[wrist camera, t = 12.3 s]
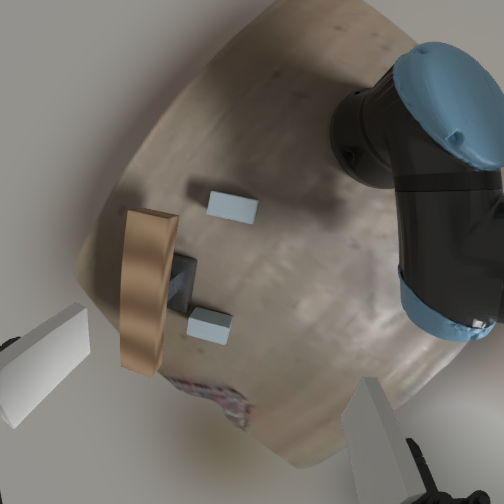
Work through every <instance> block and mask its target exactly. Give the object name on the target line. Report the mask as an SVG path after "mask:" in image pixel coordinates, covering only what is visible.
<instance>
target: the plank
mask: <svg viewBox="0 0 504 504" xmlns="http://www.w3.org/2000/svg"><path fill="white" fill-rule="evenodd" d="M178 221H179V215H174V214H169V213H165V212H160V211H155V210H150V209H146V208H140V209H134V210H128V213H127V221H126V229H125V237H124V247H123V258H122V272H121V291H120V353H121V366H122V367H124V368H126V369H129V370H131V371H134V372H136V373H139V374H142V375H144V376H147V377H150V378H153V376H154V375H155V373H156V372H157V370H158V368H159V367H160V365H161V364H162V353H163V340H164V328H165V317H166V307H167V298H168V289H169V281H170V273H171V266H172V259H173V252H174V245H175V239H176V233H177V227H178Z"/></svg>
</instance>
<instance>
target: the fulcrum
mask: <svg viewBox="0 0 504 504" xmlns="http://www.w3.org/2000/svg"><path fill="white" fill-rule="evenodd" d="M196 265H197V260H194V259H190V258H186V257H182V256H179V255H175V254H173V259H172V266H171V273H170V281H169V289H168V298H167V308H171V309H174V310H177V311H181V312H184V313H186V312H187V311H188V310H189V308H190V303H191V296H192V290H193V284H194V277H195V271H196Z"/></svg>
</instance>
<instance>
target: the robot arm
mask: <svg viewBox="0 0 504 504" xmlns="http://www.w3.org/2000/svg"><path fill="white" fill-rule="evenodd" d="M330 140H331V145H332V148H333V151H334V154H335V156H336V158H337V160H338V161H339V163H340V164H341V166H342V167H343V168H344V170H345V171H346V172H347V173H348V174H349V175H350V176H351V177H353V178H354V179H355V180H357V181H358V182H360V183H362V184H364V185H366V186H369V187H372V188H378V189H392V188H395V197H396V208H397V220H398V237H399V265H398V275H399V278H400V289H401V303H402V306H403V309H404V310H405V311H406V313H407V315H408V317H409V318H410V320H411V321H412V322H413V323H414V324H416V325H417V326H418V327H419V328H421V329H422V330H424V331H425V332H427V333H429V334H431V335H433V336H436V337H438V338H441V339H444V340H449V341H455V342H467V341H469V339H470V338H471V339H473V340H478V339H481V338H482V337H484V336H486V335H487V334H488V333H489V332H490V331H491V329H492V327H494V325H495V323H496V322H498V323H504V193H503V187H502V177H501V169H500V168H501V167H503V166H504V94H503V92H502V91H501V89H500V87H499V86H498V84H497V83H496V81H495V80H494V79H493V78H492V76H491V75H490V74H489V72H487V71H486V70H485V69H484V68H483V67H482V66H481V65H480V64H479V62H478V61H476V60H475V59H474V58H473V57H471V56H470V55H469V54H467V53H466V52H464V51H462V50H460V49H459V48H456V47H454V46H452V45H449V44H446V43H441V42H426V43H423V44H420V45H418V46H416V47H415V48H413V49H412V50H411V51H409V52H408V53H407V54H404V55H402V56H401V57H399V58H398V60H397V61H396V62H395V64H394V65H393V66H392V67H391V68H390V69H389V70H388V71H387V72H386V73H385V75H384V76H383V77H382V78H381V79H380V80H379V81H378V82H377V83H376V84H375V85H374V87H373V88H366V89H361V90H358V91H355V92H353V93H352V94H350V95H348V96H347V97H346V98H345V99H344V100H343V101H342V102H341V103H340V105H339V106H338V107H337V109H336V110H335V112H334V114H333V117H332V120H331V124H330ZM89 354H90V344H89V333H88V318H87V307H85V306H83V305H80V304H78V303H76V302H75V303H74V304H72V305H70V306H69V307H67V308H66V309H64V310H63V311H61V312H59V313H58V314H56V315H55V316H53V317H52V318H50V319H49V320H47V321H45V322H44V323H42V324H41V325H40V326H38V327H36V328H35V329H33V330H32V331H30V332H29V333H27V334H26V335H24V336H23V337H16V338H12V339H9V340H8V341H6V342H5V343H3V344H2V346H0V415H1V417H2V419H3V420H4V421H5V422H6V423H8V424H9V425H10V426H11V427H12V428H13V429H15V428H16V427H17V426H18V425H19V423H21V421H22V420H23V419H24V418H25V417H26V416H27V415H28V414H29V413H30V412H31V411H32V410H33V409H34V408H35V407H36V406H37V405H38V404H39V403H40V402H41V401H42V400H43V399H44V398H45V397H46V396H47V395H48V394H49V393H50V392H51V390H53V389H54V388H55V387H56V386H57V385H58V384H59V383H60V381H62V380H63V379H64V378H65V377H66V376H67V375H68V374H69V373H70V372H71V371H72V370H73V369H74V368H75V367H76V366H77V365H78V364H79V363H80V362H81V361H82V360H83V359H84V358H86V357H87V356H88V355H89ZM340 419H341V423H342V427H343V431H344V435H345V440H346V444H347V448H348V452H349V457H350V461H351V466H352V471H353V475H354V481H355V485H356V491H357V496H358V501H359V504H490V498H489V496H488V494H487V493H486V492H484V491H481V490H478V491H475V492H473V493H472V494H471V495H470V496H468V497H467V498H458V499H453V498H452V497H451V495H449V494H448V493H446V492H439V491H438V489H437V487H436V485H435V482H434V480H433V478H432V475H431V473H430V471H429V468H428V466H427V464H426V461H425V459H424V457H422V456H423V455H422V452H421V450H420V448H419V446H418V445H417V444H416V443H415V442H414V441H413V440H412V438H407V439H405V437H404V435H403V433H402V430H401V428H400V426H399V424H398V421H397V419H396V417H395V415H394V413H393V410H392V408H391V406H390V404H389V402H388V400H387V398H386V396H385V393H384V391H383V389H382V387H381V385H380V383H379V381H378V379H377V378H371V377H363V378H362V380H361V382H360V384H359V385H358V387H357V389H356V391H355V393H354V394H353V396H352V398H351V400H350V401H349V403H348V405H347V407H346V408H345V410H344V412H343V413H342V415H341V416H340ZM0 504H2V498H1V493H0Z"/></svg>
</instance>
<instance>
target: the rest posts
mask: <svg viewBox="0 0 504 504" xmlns="http://www.w3.org/2000/svg"><path fill="white" fill-rule="evenodd" d="M258 203H259V200H255V199H251V198H246V197H242V196H237V195H232V194H228V193H223V192H218V191H211V195H210V199H209V204H208V209H207V214H208V215H213V216H217V217H222V218H226V219H231V220H235V221H240V222H244V223H249V224H253V222H254V221H255V216H256V212H257V207H258ZM232 319H233V316H230V315H226V314H222V313H218V312H214V311H211V310H207V309H203V308H199V307H196V308H195V309H194V311H193V312H192V314H191V315H190V317H189V321H188V328H187V335H190V336H193V337H197V338H201V339H204V340H208V341H212V342H216V343H219V344H223V345H226V342H227V339H228V336H229V333H230V328H231V324H232Z"/></svg>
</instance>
